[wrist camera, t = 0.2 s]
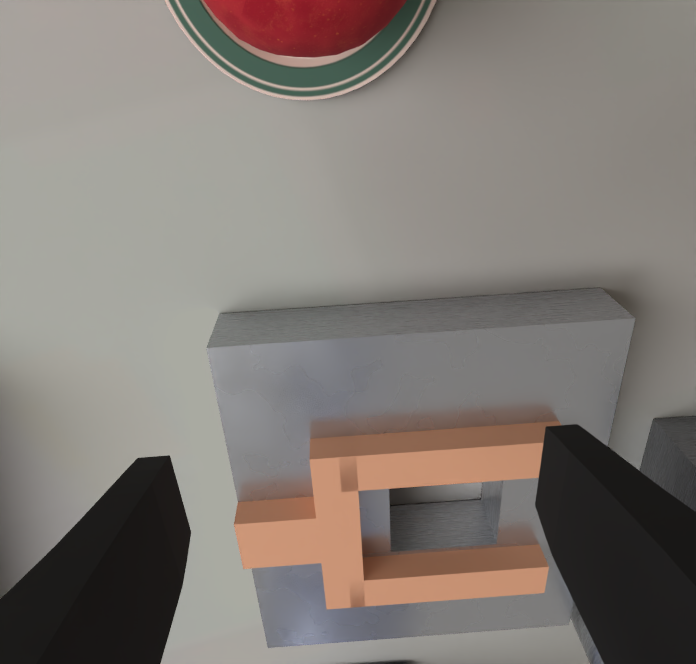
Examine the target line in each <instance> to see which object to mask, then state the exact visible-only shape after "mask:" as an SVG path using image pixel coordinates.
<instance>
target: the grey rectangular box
mask: <svg viewBox="0 0 696 664" xmlns="http://www.w3.org/2000/svg"><path fill="white" fill-rule="evenodd" d="M640 472H641V473H643V474H644V475H645V476H647V477H648V478H649V479H651V480H652V481H653V482H655V483H656V484H658V485H659V486H660V487H662V488H663V489H664V490H666V491H667V492H668V493H670V494H671V495H673V496H674V497H675V498H677V499H678V500H680V501H681V502H682V503H684V504H685V505H687V506H688V507H689V508H691V509H692V510H694V511H695V512H696V416H687V417H673V418H660V419H653V422H652V426H651V429H650V433H649V437H648V441H647V445H646V448H645V452H644V456H643V460H642V464H641V468H640Z"/></svg>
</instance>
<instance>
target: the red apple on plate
mask: <svg viewBox="0 0 696 664" xmlns="http://www.w3.org/2000/svg"><path fill="white" fill-rule="evenodd" d="M165 2H166V4H167V6H168V8H169V10H170V11H171V13H172V15H173V17H174V18H175V20H176V22H177V23H178V25H179V27H180V28H181V29H182V31H183V32H184V33H185V35H186V36H187V37H188V39H189V40H190V41H191V43H192V44H193V45H194V46H195V47H196V48H197V49H198V50H199V51H200V52H201V53H202V55H203V56H204V57H205V58H206V59H207V60H209V61H210V62H211V63H212V64H213V65H214V66H216V67H217V68H218V69H219V70H220V71H222V72H223V73H225V74H226V75H228V76H229V77H231V78H232V79H234V80H235V81H237V82H238V83H241V84H243V85H245V86H247V87H249V88H251V89H253V90H255V91H258V92H261V93H264V94H267V95H270V96H273V97H279V98H284V99H290V100H317V99H326V98H330V97H334V96H338V95H342V94H345V93H348V92H350V91H353V90H355V89H358V88H360V87H362V86H363V85H365V84H367V83H369V82H370V81H372V80H374V79H376V78H377V77H378V76H380V75H381V74H382V73H383V72H385V71H386V70H387V69H389V68H390V67H391V66H392V65H393V64H394V63H395V62H396V61H397V60H398V59H399V58H400V57H401V56H402V55H403V54H404V53H405V52H406V51H407V49H408V48H409V47H410V45H411V44H412V43H413V42H414V40H415V39H416V38H417V36H418V35H419V33H420V31H421V30H422V28H423V26H424V25H425V23H426V21H427V20H428V18H429V16H430V13H431V11H432V9H433V7H434V5H435V2H436V0H165Z"/></svg>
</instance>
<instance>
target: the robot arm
mask: <svg viewBox="0 0 696 664" xmlns="http://www.w3.org/2000/svg"><path fill="white" fill-rule="evenodd" d="M535 507H536V510H537V513H538V516H539V519H540V522H541V525H542V528H543V531H544V534H545V537H546V540H547V543H548V545H549V548H550V551H551V554H552V556H553V559H554V561H555V563H556V565H557V567H558V569H559V571H560V573H561V576H562V578H563V580H564V582H565V584H566V586H567V588H568V590H569V592H570V595H571V597H572V599H573V601H574V603H575V605H576V607H577V609H578V611H579V613H580V615H581V617H582V619H583V621H584V623H585V625H586V628H587V630H588V632H589V634H590V636H591V638H592V640H593V642H594V644H595V646H596V648H597V650H598V652H599V654H600V656H601V659H602V661H603V663H604V664H696V512H695V511H694V510H692V509H691V508H689V507H688V506H687V505H685V504H684V503H682V502H681V501H680V500H678V499H677V498H675V497H674V496H673V495H671V494H670V493H668V492H667V491H666V490H664V489H663V488H662V487H660V486H659V485H658V484H656V483H655V482H653V481H652V480H651V479H649V478H648V477H647V476H645V475H644V474H643V473H641V472H640V471H639V470H637V469H636V468H635V467H634V466H632V465H631V464H630V463H628V462H627V461H626V460H624V459H623V458H622V457H620V456H619V455H618V454H617V453H615V452H614V451H613V450H611V449H610V448H609V447H607V446H606V445H605V444H604V443H602V442H601V441H600V440H598V439H597V438H596V437H594V436H593V435H592V434H590V433H589V432H588V431H586V430H585V429H584V428H582V427H581V426H579V425H578V424H572V425H559V426H546V428H545V435H544V443H543V450H542V457H541V465H540V472H539V479H538V487H537V494H536V501H535ZM190 536H191V530H190V527H189V523H188V519H187V516H186V512H185V509H184V505H183V502H182V498H181V494H180V491H179V487H178V484H177V480H176V476H175V473H174V469H173V466H172V462H171V458H170V456H158V457H145V458H137V459H136V460H135V462H134V463H133V464H132V465H131V466H130V467H129V468H128V469H127V470H126V471H125V472H124V473H123V474H122V475H121V476H120V478H119V479H118V480H117V481H116V482H115V483H114V484H113V485H112V486H111V487H110V488H109V489H108V490H107V492H106V493H105V494H104V495H103V496H102V497H101V498H100V499H99V500H98V501H97V502H96V503H95V505H94V506H93V507H92V508H91V509H90V510H89V511H88V512H87V513H86V514H85V515H84V516H83V517H82V519H81V520H80V521H79V522H78V523H77V524H76V525H75V526H74V527H73V528H72V529H71V530H70V531H69V532H68V533H67V534H66V535H65V536H64V537H63V538H62V539H61V541H60V542H59V543H58V544H57V545H56V546H55V547H54V548H53V549H52V550H51V551H50V552H49V553H48V554H47V555H46V556H45V557H44V558H43V559H41V560H40V561H39V562H38V563H37V564H36V565H35V566H34V567H33V568H32V569H31V570H30V571H29V572H28V573H27V574H26V575H25V576H24V577H23V578H22V579H21V580H20V581H19V582H18V583H17V584H16V585H15V586H14V587H13V588H12V589H11V590H10V591H9V592H8V593H7V594H5V595H4V596H3V597H2V598H1V599H0V664H160V663H161V659H162V656H163V652H164V649H165V645H166V642H167V638H168V635H169V632H170V628H171V625H172V621H173V617H174V614H175V610H176V607H177V603H178V600H179V596H180V592H181V589H182V585H183V580H184V574H185V568H186V562H187V556H188V549H189V542H190Z"/></svg>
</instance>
